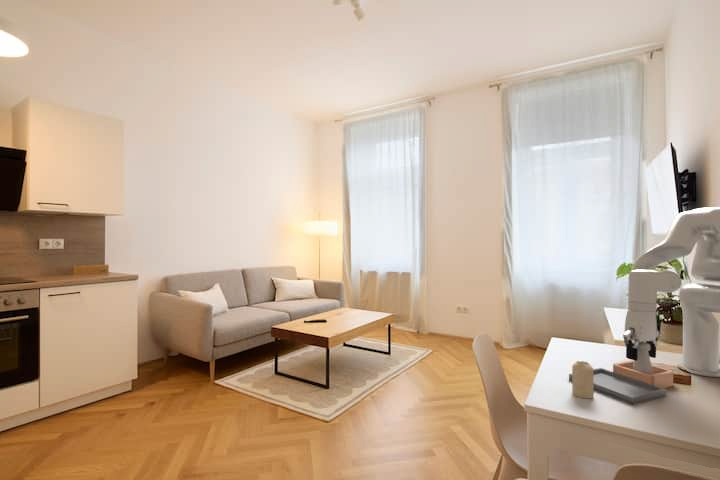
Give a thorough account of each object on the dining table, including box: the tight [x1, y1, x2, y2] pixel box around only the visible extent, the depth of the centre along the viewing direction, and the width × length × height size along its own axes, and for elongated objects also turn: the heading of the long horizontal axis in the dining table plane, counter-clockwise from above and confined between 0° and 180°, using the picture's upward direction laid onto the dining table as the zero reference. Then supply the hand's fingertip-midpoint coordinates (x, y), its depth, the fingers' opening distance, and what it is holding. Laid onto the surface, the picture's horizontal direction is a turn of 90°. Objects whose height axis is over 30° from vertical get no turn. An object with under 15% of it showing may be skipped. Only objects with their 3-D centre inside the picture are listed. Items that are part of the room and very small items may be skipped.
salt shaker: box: [632, 342, 653, 375], centre depth 121 cm, size 6×6×13 cm
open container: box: [612, 359, 674, 389], centre depth 121 cm, size 12×12×4 cm
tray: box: [568, 367, 667, 406], centre depth 115 cm, size 16×20×2 cm
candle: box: [571, 360, 595, 400], centre depth 110 cm, size 6×6×10 cm
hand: (641, 357), depth 120 cm, fingers open, 9 cm apart
